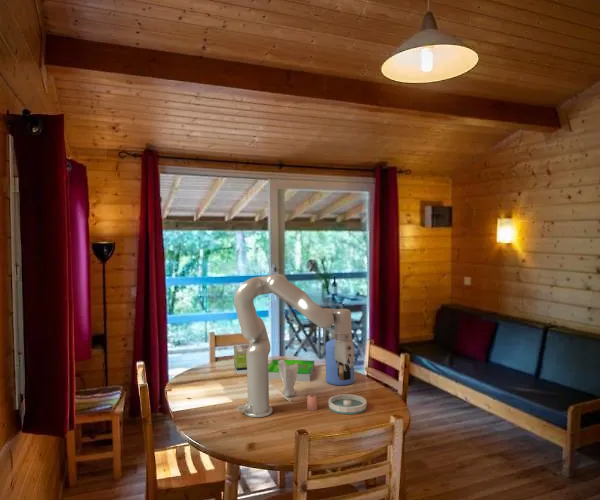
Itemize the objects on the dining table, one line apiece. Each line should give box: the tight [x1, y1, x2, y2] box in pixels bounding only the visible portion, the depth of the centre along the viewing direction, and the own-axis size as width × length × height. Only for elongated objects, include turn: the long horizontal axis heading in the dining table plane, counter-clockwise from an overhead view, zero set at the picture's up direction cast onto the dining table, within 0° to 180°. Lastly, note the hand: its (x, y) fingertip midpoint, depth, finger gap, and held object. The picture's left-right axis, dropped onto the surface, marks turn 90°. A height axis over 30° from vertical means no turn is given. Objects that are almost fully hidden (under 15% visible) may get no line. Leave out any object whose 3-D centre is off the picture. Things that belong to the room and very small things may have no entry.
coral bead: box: [306, 394, 318, 412], centre depth 206 cm, size 4×4×6 cm
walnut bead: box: [339, 364, 349, 380], centre depth 201 cm, size 4×4×6 cm
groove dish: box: [327, 393, 368, 416], centre depth 208 cm, size 17×17×3 cm
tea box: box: [233, 343, 250, 374], centre depth 263 cm, size 15×10×15 cm, turn 14°
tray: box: [268, 359, 315, 382], centre depth 260 cm, size 25×25×5 cm
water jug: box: [324, 337, 355, 386], centre depth 245 cm, size 16×16×28 cm
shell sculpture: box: [278, 359, 298, 398], centre depth 224 cm, size 8×8×18 cm
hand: (344, 377), depth 201 cm, fingers closed on walnut bead, 4 cm apart
